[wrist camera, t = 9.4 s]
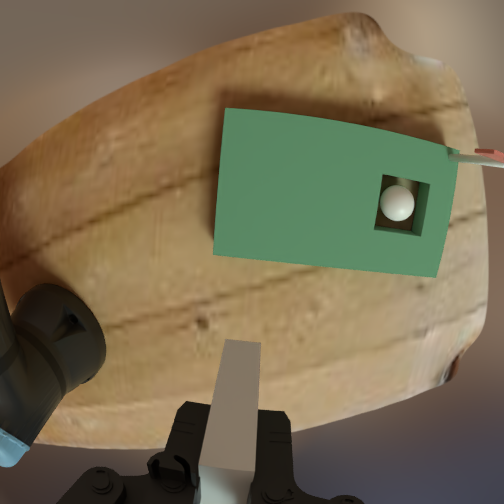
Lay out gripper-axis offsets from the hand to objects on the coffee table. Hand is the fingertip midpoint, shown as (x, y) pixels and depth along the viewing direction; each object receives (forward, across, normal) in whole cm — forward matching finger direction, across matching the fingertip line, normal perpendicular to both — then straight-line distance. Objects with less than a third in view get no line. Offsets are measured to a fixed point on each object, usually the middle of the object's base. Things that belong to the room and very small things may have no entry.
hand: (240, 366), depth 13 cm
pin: (+18, +17, +12) cm, 28 cm away
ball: (+19, +14, +6) cm, 24 cm away
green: (+20, +8, +6) cm, 23 cm away
